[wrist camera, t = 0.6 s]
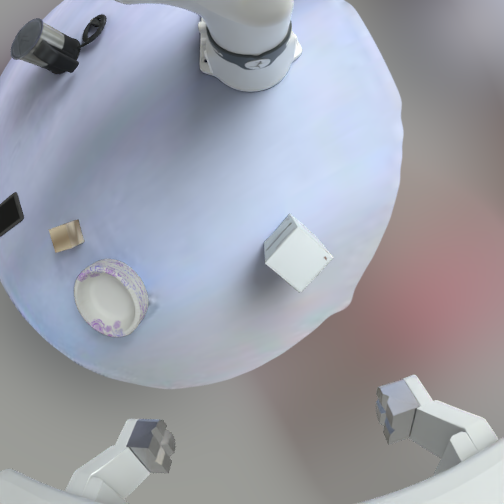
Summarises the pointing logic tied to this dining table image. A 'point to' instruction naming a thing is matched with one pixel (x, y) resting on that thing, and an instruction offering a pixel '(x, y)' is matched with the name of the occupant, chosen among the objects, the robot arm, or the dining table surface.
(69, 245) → the maple block
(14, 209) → the cell phone
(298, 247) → the supplement box
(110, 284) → the paper bowls
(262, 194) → the dining table surface
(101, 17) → the milk frother
